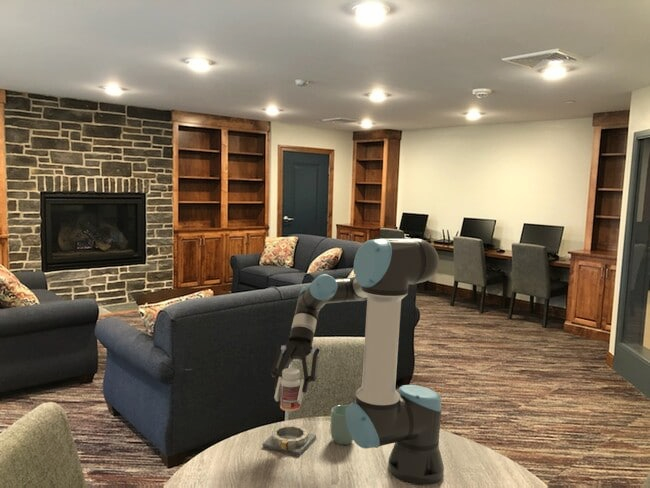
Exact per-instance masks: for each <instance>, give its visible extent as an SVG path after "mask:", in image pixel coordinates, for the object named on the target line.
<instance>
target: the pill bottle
mask: <svg viewBox="0 0 650 488" xmlns="http://www.w3.org/2000/svg"><path fill="white" fill-rule="evenodd" d="M300 372H301V371H300V369H298V368H295V367H288V368H286V369H283V371H282V379H281V382H280V396H279V407H280V410H282V411H285V412H295V411H298V410H299V409H300V408H301V406H302V403H301V404H298V401H297V398H298V393H299V389H300V384H301V378H300V377H301V374H300Z"/></svg>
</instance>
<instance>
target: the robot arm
mask: <svg viewBox="0 0 650 488" xmlns="http://www.w3.org/2000/svg"><path fill="white" fill-rule="evenodd" d="M439 258H440V257H439V255H438V252H437V250H436V247H434V246H433V245H432V244H431V243H430V242H428V241H427V240H424V239H422V238H415V237H413V238H412V237H411V238H375V239H369V240H366V241H365V242H363V243H362V244H361V245H360V247H359V248H358V249H357V251H356V254H355V257H354V260H353V274H354V275H355V276H354V277H347V278H334V277H333V276H331V275H329V274H327V273H323V274H320V275H318V276H317V277H315V279H313V280H312V281H311V283H310V284H309V285H306V286H303V287H302V288H301V289H300V292H299V294H298V296H297V302H296V308H295V311H294V315H293V320H292V324H291V329H290V332H289V337H288V341H287V343H285V345H284V344H283V345H281V344H277V346H276V354H275V357H274V361H273V363H272V366H271V369H270V375H271V377H272V378H275V379H274V383H273V388H274V390H275V391H274V392H275V393H274V397H273V398H274V401H275V402H280V382H281V379H282V378H283V377H282V371H283V369H286V368H289V366H290V364H291V363H292V362H293V361H294V360H300V361H301V364H302V372H303V378H304V379H303V378H302V379H301V378H300V380H301V384H300V389H299V393H298V398H297V401H298V404H301V405H302V402H303V395H304V393H305V394H307V392H308V388H309V384H310V383H311V382H312V383H313V382H315V381H316V379H317V372H318V370H317V369H318V362H319V358H320V356H321V350H320V348H313V343H314V337H315V331H316V329H317V322H318V317H319V313H320V311H321V309H323V308H324V307H325V305H326V304H334V303H344V302H345V303H346V302H364V301H366V312H365V313H366V315H365V330H364V332H365V333H364V345H363V346H364V347H363V348H364V349H363V366H362V367H363V368H362V381H361V382H362V383H361V386H360V387H359V388H358V389H357V390H356V391H355V401H354V402H351V403H349V404H348V406H347V408H346V413H345V416H346V423H347V427H348V430H349V432H350V435H351V437H352V439H353V441H354V443H355V444H356V445H357V446H358V447H360V448H362V449H366V450H367V449H373V448H379V447H382V446H383V447H384V446H388V445H390V444H393V448H392V450H391V451H390V455H389V457H388V464H387V469H388V472H389V474H390V475H392V477H393V478H395V479H397V480H398V481H401V482H403V483H406V484H410V485H415V486H428V485H434V484H436V483H438V482H440V481H442V479H443V477H444V471H445V465H444V461H443V458H442V453H441V451H440V450H441V449H440V446H439V445H440V444H439V443H440V429H441V419H442V398H441V396H440V394H438V393H437V392H436V391H434V390H432V389H431V388H428V387H425V386H421V385H414V384H404V385H400V386H399V388H398V390H396V382H397V368H398V367H397V366H398V353H399V338H400V324H401V310H402V309H401V308H402V300H403V299H404V298H405V297H406V296H408V294H409V293H408V292H409V285H416V284H420V283H424V282H426V281H429V280H431V279H432V278H433V277H434V276H435V275H436V274H437V271H438V270H439V268H440V267H439V265H440V259H439ZM285 351H287V353H286V356H285V358H284V360H283V361H282V358H283V354H284V353H285ZM310 354H312V355H311V356H312V362H311V370H310V374H309V369H308V362H307V357H308V356H309V355H310ZM281 362H282V363H281ZM280 364H281V365H280Z"/></svg>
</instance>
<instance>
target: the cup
mask: <svg viewBox="0 0 650 488" xmlns="http://www.w3.org/2000/svg"><path fill="white" fill-rule="evenodd" d="M348 405H349V404H348ZM348 405H346V404H338V405H335V406H332V407H331V409H330V410H331V411H330V435H331V439H332V440H333V442H335V444H338V445H344V446H345V445H348V444H350V443H353V441H354V440H353V439H352V437H351V435H350V432H349V430H348V427H347V423H346V416H345V413H346V408H347V406H348Z"/></svg>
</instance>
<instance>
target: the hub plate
mask: <svg viewBox="0 0 650 488" xmlns="http://www.w3.org/2000/svg"><path fill="white" fill-rule="evenodd" d="M315 440H317V435H316V434H314V433H313V434H312V433H310V432H309V433H308V430H307V429H305V428H304V427H302V426H299V425H295V424H288V425H287V424H285V425H280V426H278V427H275V429H273V430H272V435H270V436H269V437H268V438H267V439H266V440H265V441H263V443H262V448H263V449H267V450H272V451H275V452H280V453H283V454H289V455H292V456H297V457H301V456H302V454H303V453H304V452H306V451H307V449H308V448H309V447H310V446H311V445H312V443H314V441H315Z"/></svg>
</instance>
